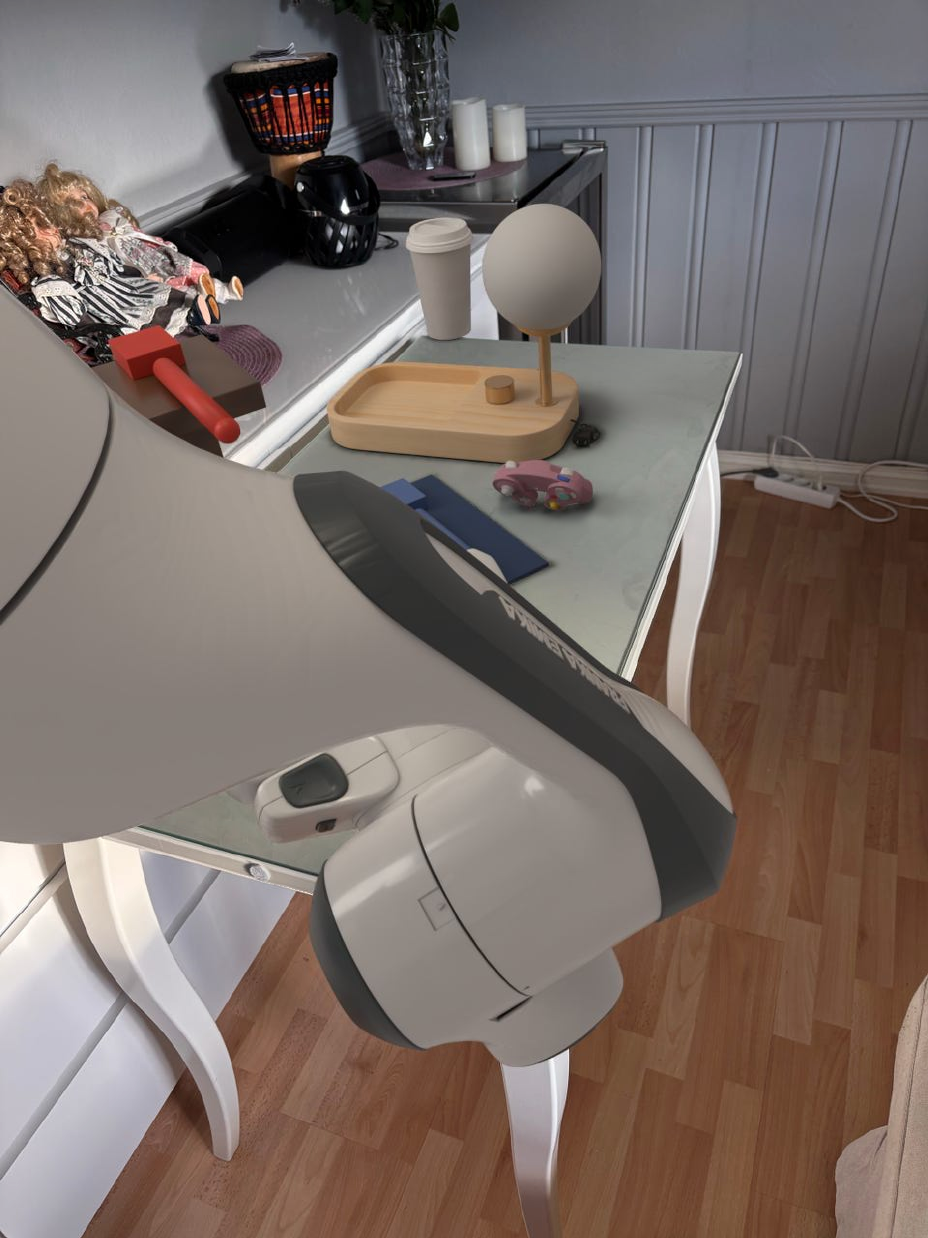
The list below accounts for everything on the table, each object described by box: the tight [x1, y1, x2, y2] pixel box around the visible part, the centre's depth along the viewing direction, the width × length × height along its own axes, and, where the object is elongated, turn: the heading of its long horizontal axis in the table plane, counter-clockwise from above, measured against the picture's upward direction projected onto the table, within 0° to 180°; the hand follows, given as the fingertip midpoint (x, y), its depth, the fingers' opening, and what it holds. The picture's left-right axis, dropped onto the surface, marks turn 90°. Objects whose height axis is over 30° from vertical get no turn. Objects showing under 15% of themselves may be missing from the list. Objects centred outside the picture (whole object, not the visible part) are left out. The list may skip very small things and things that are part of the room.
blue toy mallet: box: [379, 477, 472, 550], centre depth 92 cm, size 20×4×2 cm, turn 33°
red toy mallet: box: [107, 324, 241, 445], centre depth 62 cm, size 20×4×2 cm, turn 33°
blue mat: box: [409, 474, 550, 585], centre depth 92 cm, size 12×22×1 cm, turn 33°
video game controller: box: [492, 459, 594, 512], centre depth 94 cm, size 10×5×7 cm, turn 68°
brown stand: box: [90, 334, 267, 458], centre depth 74 cm, size 10×12×26 cm
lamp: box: [326, 203, 602, 464], centre depth 104 cm, size 33×17×25 cm, turn 71°
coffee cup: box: [405, 217, 474, 341], centre depth 130 cm, size 10×10×15 cm
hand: (296, 555), depth 54 cm, fingers open, 8 cm apart
